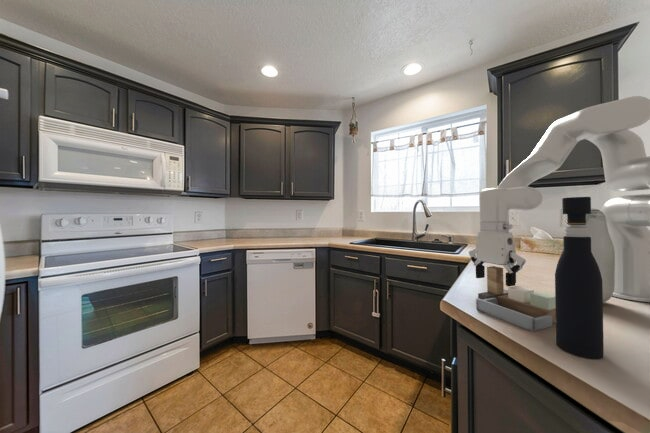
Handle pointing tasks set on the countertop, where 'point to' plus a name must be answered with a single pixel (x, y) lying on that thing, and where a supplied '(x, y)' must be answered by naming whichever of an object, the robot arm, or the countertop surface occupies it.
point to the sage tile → (543, 300)
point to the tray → (513, 315)
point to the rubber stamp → (494, 284)
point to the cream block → (520, 293)
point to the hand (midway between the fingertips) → (494, 281)
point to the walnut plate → (525, 308)
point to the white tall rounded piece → (601, 249)
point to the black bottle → (578, 287)
